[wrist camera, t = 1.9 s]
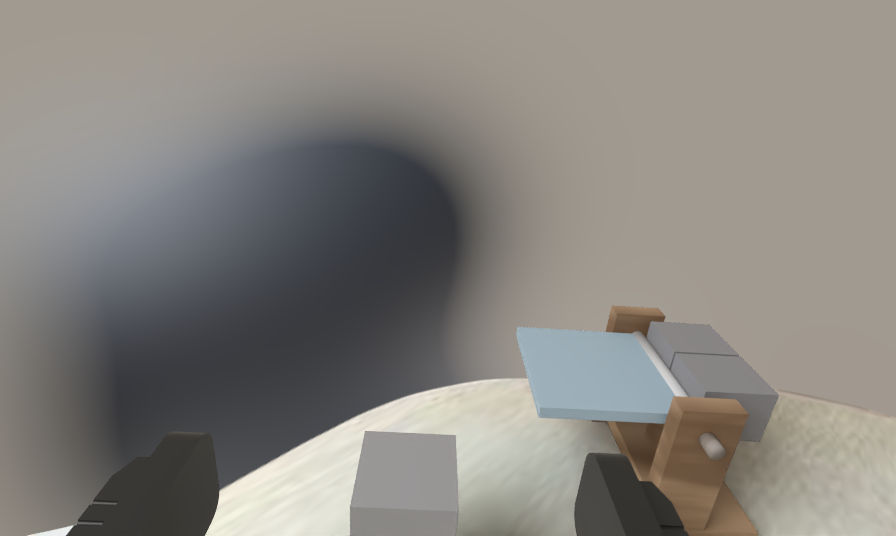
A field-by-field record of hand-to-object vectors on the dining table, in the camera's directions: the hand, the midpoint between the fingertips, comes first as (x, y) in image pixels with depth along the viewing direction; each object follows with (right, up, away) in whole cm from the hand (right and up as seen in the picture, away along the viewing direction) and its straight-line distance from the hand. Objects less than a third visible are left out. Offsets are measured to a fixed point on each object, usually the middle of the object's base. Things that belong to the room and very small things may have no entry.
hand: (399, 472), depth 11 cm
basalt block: (-2, -15, +18) cm, 24 cm away
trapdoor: (+14, -5, +26) cm, 30 cm away
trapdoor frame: (+18, -12, +29) cm, 36 cm away
